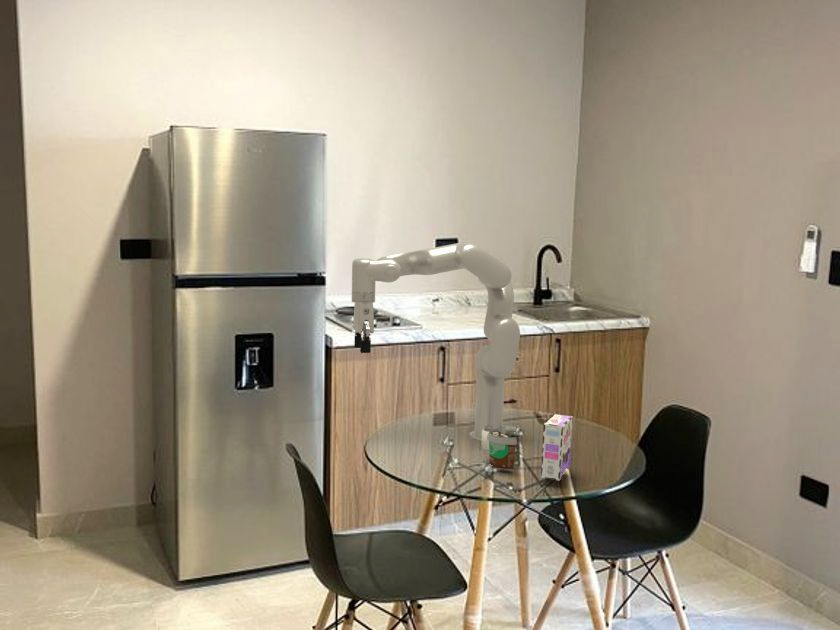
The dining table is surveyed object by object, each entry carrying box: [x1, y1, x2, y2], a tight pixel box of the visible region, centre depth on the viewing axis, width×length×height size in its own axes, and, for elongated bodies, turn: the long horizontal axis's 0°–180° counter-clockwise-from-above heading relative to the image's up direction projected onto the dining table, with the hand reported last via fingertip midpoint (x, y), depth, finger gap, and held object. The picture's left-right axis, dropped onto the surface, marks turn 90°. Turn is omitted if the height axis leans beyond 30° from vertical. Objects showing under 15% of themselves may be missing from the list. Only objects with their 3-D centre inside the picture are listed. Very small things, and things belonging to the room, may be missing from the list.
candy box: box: [540, 414, 574, 482], centre depth 253 cm, size 14×6×16 cm, turn 157°
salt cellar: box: [480, 426, 493, 451], centre depth 278 cm, size 4×4×7 cm
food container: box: [487, 428, 518, 470], centre depth 259 cm, size 12×6×10 cm, turn 23°
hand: (362, 350), depth 275 cm, fingers open, 9 cm apart
